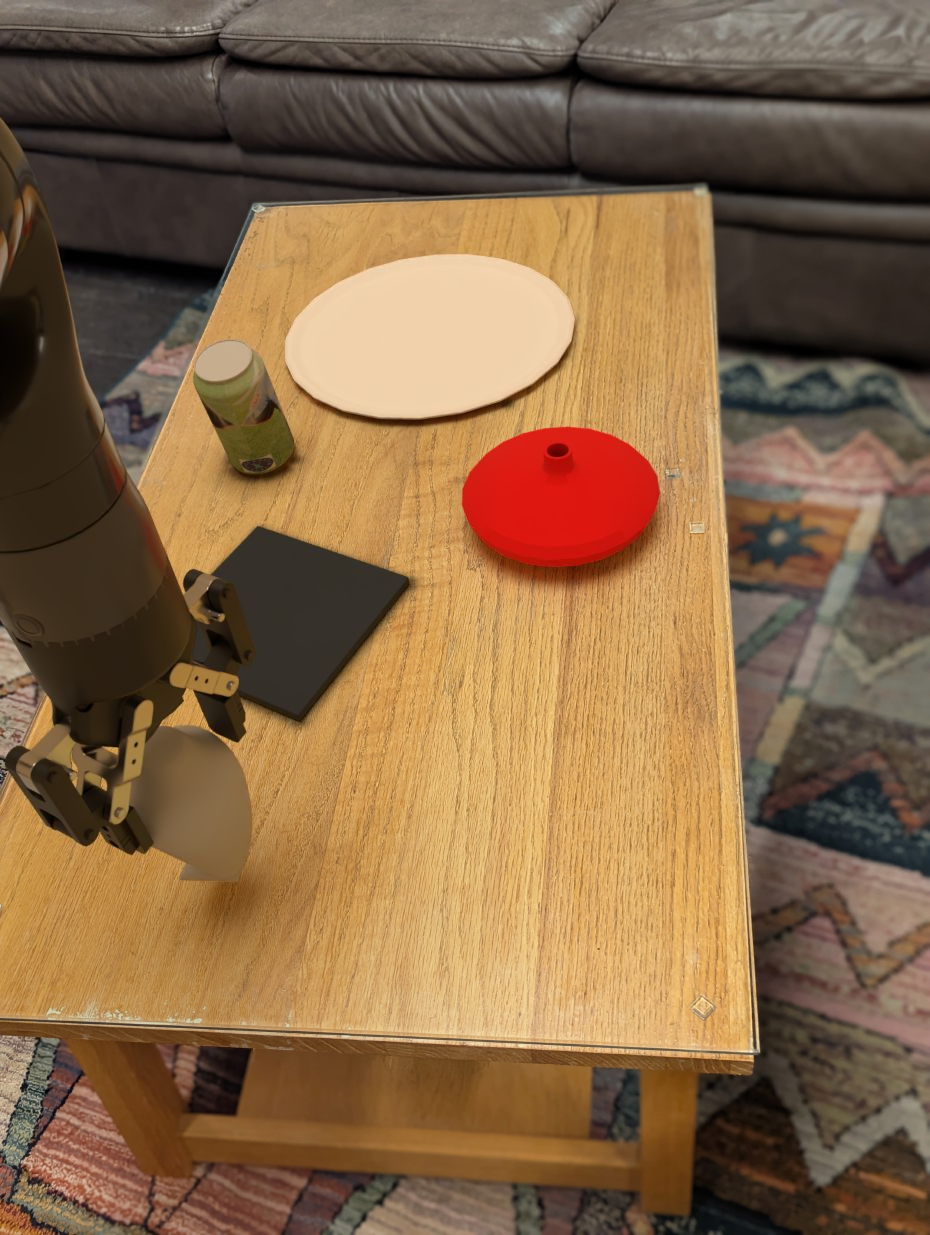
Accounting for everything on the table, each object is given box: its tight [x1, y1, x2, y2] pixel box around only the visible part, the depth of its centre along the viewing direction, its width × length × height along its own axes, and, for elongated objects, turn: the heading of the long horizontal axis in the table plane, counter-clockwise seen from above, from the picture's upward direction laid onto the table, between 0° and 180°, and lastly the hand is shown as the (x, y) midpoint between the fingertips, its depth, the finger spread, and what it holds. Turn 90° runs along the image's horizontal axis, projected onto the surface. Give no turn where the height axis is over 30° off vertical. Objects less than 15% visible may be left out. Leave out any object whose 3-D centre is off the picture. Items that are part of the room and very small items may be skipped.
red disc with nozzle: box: [461, 426, 661, 568], centre depth 85 cm, size 16×16×7 cm
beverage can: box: [192, 338, 295, 475], centre depth 93 cm, size 6×7×12 cm
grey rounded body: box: [129, 724, 253, 883], centre depth 61 cm, size 8×5×12 cm
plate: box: [284, 253, 576, 420], centre depth 108 cm, size 29×29×1 cm
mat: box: [192, 525, 411, 722], centre depth 83 cm, size 15×15×1 cm
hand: (184, 786), depth 59 cm, fingers closed on grey rounded body, 7 cm apart
